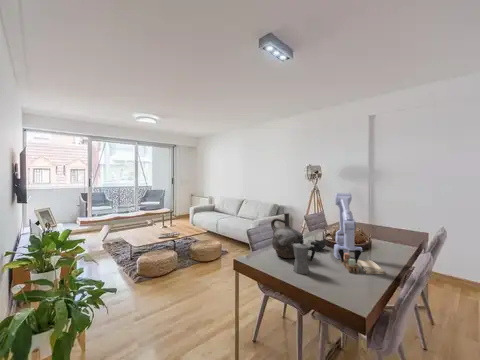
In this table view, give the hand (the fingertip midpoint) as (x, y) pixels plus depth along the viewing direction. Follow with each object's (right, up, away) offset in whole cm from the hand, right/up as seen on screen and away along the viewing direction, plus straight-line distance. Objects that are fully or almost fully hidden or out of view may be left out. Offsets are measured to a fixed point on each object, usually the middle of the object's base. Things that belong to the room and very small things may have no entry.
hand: (349, 262), depth 139 cm
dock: (+12, -3, 0) cm, 12 cm away
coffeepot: (-30, -4, -6) cm, 31 cm away
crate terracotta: (+1, +1, +5) cm, 5 cm away
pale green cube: (-1, 0, -5) cm, 5 cm away
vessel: (-34, -3, +21) cm, 40 cm away
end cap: (-8, -3, +32) cm, 33 cm away
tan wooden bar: (0, -3, 0) cm, 3 cm away
